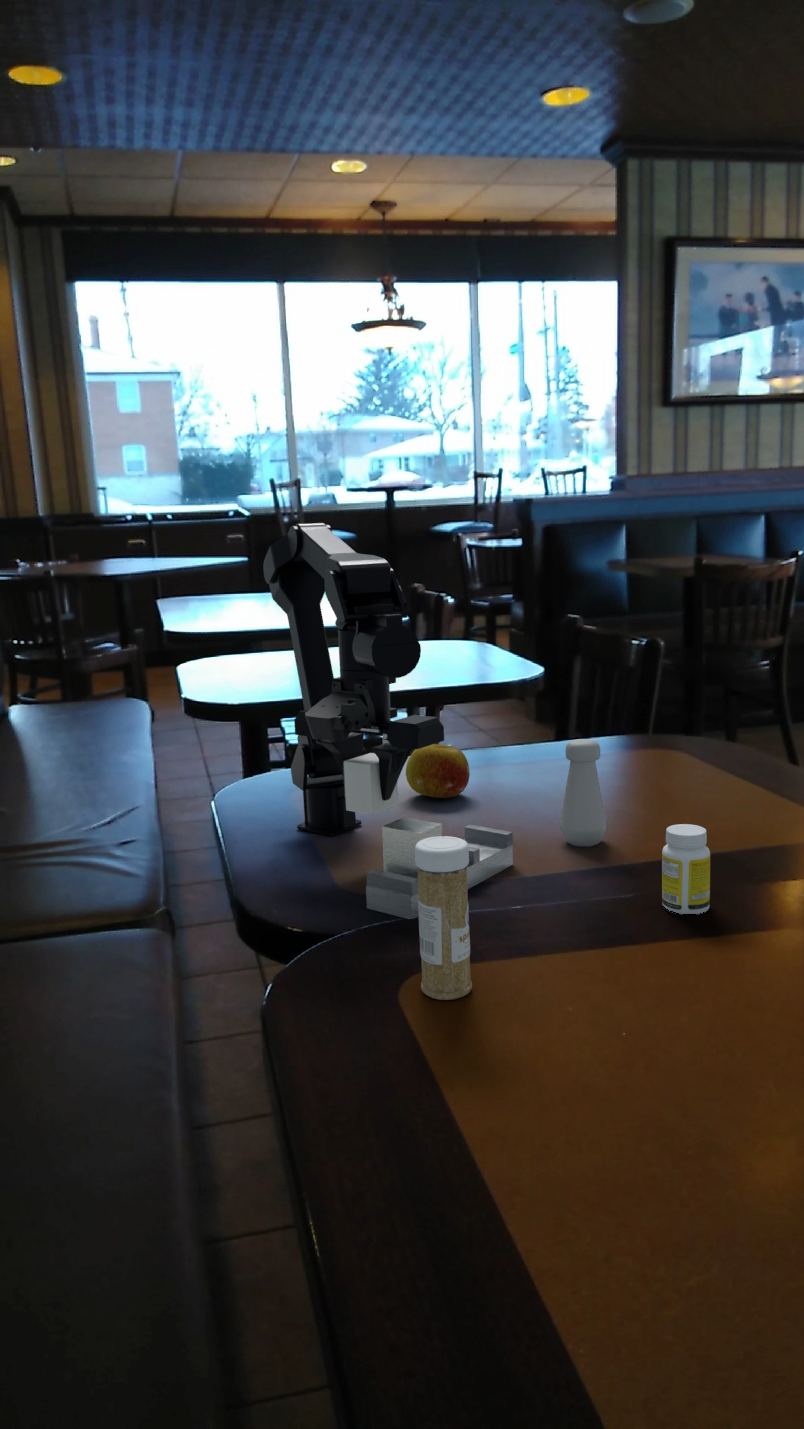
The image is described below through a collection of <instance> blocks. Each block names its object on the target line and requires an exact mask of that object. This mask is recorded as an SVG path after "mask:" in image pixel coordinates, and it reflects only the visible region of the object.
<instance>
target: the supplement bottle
mask: <svg viewBox="0 0 804 1429" xmlns="http://www.w3.org/2000/svg"><path fill="white" fill-rule="evenodd" d="M707 840H708V839H707V829H706V828H704V827H702V826H700V825H697V824H690V823H682V824H680V823H679V824H672V825H670V826H668V827H667V828H666V831H665V843H666V845H664V846H663V848H662V851H661V852H662V853H661V860H662V861H661V883H662V884H661V889H662V890H661V904H662V906H664V907H665V908H666V909H668V910H669V911H668V910H667V911H668V912H670V911H673V912H676V913H679V915H683V914H696V915H701V914H704V913H706V912H707V911H709V909H710V906H711V905H710V904H711V900H710V899H711V851H710V849H709V848H708V846H706V845H707ZM664 907H663V908H664ZM665 908H664V909H665ZM666 909H665V910H666ZM673 912H672V913H673ZM703 912H704V913H703ZM676 913H675V914H676ZM700 913H701V914H700Z"/></svg>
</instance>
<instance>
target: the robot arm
mask: <svg viewBox="0 0 804 1429" xmlns="http://www.w3.org/2000/svg"><path fill="white" fill-rule="evenodd" d="M266 552H267V553H266V555H265V557H264V560H263V566H262V567H263V576H264V580H265V582H266V584H268V585H269V590H270V594H271V598H272V601H273V602H274V603H276V604H277V606H278V607H280V609H281V610H282V611H283V612H284V613H285V615H286V616H287V621H288V627H289V631H290V636H291V638H290V639H291V642H292V648H293V653H294V654H293V655H294V659H295V666H296V671H297V676H298V681H299V688H300V693H301V698H302V703H303V710H300V711H298V713H297V714H296V716H295V718H294V720H293V722H294V735H295V736H297V746H296V750H295V752H294V756H293V759H292V763H291V765H290V774H291V778H292V779H291V780H292V784H293V785H294V786H296V788H298V789H300V790H301V791H302V797H303V799H302V800H303V814H304V816H303V817H304V822H302V823H299V824H297V825H296V829H297V828H298V830H300V829H301V831H305V830H306V831H307V832H310V833H311V832H312V833H315V834H320V835H325V836H331V837H332V836H336V835H338V834H341V833H343V832H346V831H347V830H351V829H352V828H356V827H359V826H361V825H362V822H363V821H362V820H360V819H356V817H357V816H356V812H353V811H347V810H346V798H345V797H344V778H343V764H344V761H346V760H349V759H352V758H355V757H359V756H362V755H365V754H366V748H365V747H364V739H365V738H364V737H365V735H370V736H377V737H378V736H380V737H382V744H379V745H375V746H373V747H371V750H372V751H373V753H375V754H376V756H377V757H378V759H379V771H380V788H381V795H382V800H384V801H386V800H389V799H390V798H391V795H392V793H393V791H394V788H395V786H396V783H398V781H399V778H400V776H401V773H402V771H403V768H404V766H405V764H406V763H407V762H408V759H409V757H410V756H411V754H412V752H413V751H414V750H415V749H420V748H423V747H426V746H429V745H432V744H439V743H442V742H444V741H445V725H444V724H443V723H442V721H441V720H440V718H439V717H438V716H429V715H427V716H426V715H417V714H412V715H409V716H406V717H401V718H399V719H396V720H395V718H398V708H396V707H391V693H390V690H391V689H390V684H396V683H397V679H399V678H400V679H401V678H403V677H406V676H408V675H409V674H411V673H412V671H414V670H415V669H416V668H417V665H418V663H419V661H420V658H421V652H422V648H421V643H420V642H419V639H418V636H416V633H415V632H414V631H412V630H411V629H410V628H408V627H407V626H405V625H404V623H403V619H407V618H408V615H409V613H408V611H407V606H408V602H407V598H406V596H405V594H404V592H403V589H402V588H401V587H402V586H401V585H400V583H399V581H398V578H397V576H396V573H395V571H394V569H393V568H392V567H391V565H390V563H389V562H388V560H386V559H385V558H383V557H381V556H377V555H374V554H365V553H358V552H356V551H355V550H354V549H352V547H350V546H349V545H348V544H347V543H346V542H344V541H343V540H342V539H341V538H340V537H339V536H338V535H336V534H335V533H334V532H333V530H332V527H331V526H330V525H329V524H325V522H315V523H311V522H309V523H296V524H295V525H291V527H290V528H289V530H288V532H287V534H286V535H284V536H283V537H281V538H279V539H278V540H277V541H275V542H274V543H272V544H271V545H270V546H269V547H268V550H267V551H266ZM324 595H325V596H326V599H327V601H328V603H329V605H330V607H331V609H332V611H333V613H334V615H335V617H336V620H335V621H334V622H335V626H336V627H337V634H338V635H337V636H338V640H337V641H338V655H339V656H338V657H339V677H334V671H333V666H332V662H331V657H330V656H331V655H330V652H329V651H330V650H329V644H328V641H327V640H328V639H327V635H326V629H325V624H324V617H323V614H322V608H321V603H322V601H323V598H324ZM392 719H394V720H392ZM306 831H305V832H306Z"/></svg>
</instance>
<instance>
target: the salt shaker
mask: <svg viewBox="0 0 804 1429" xmlns="http://www.w3.org/2000/svg"><path fill="white" fill-rule="evenodd" d="M564 751H565V753H564V754H565V758H566V759H567V760H568V761H569V768H568V774H567V779H566V784H565V785H566V786H565V792H564V797H563V803H562V810H561V815H560V819H559V820H560V821H559V826H560V830H561V832H562V835H563V836H564V840H565V842H566V843H567V844H570V845H572V846H573V847H592V846H596V845H598V844H601V841H602V839H603V837H604V834H605V832H606V830H607V819H606V818H607V817H606V813H605V810H604V808H605V807H604V803H603V798H602V792H601V786H600V780H599V775H598V769H597V764H596V761H598V760H600V758H601V745H600V743H599V742H597V741H596V740H594V739H589V738H578V739H572V740H570V741H568V742H567V743H566V746H565V750H564Z"/></svg>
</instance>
